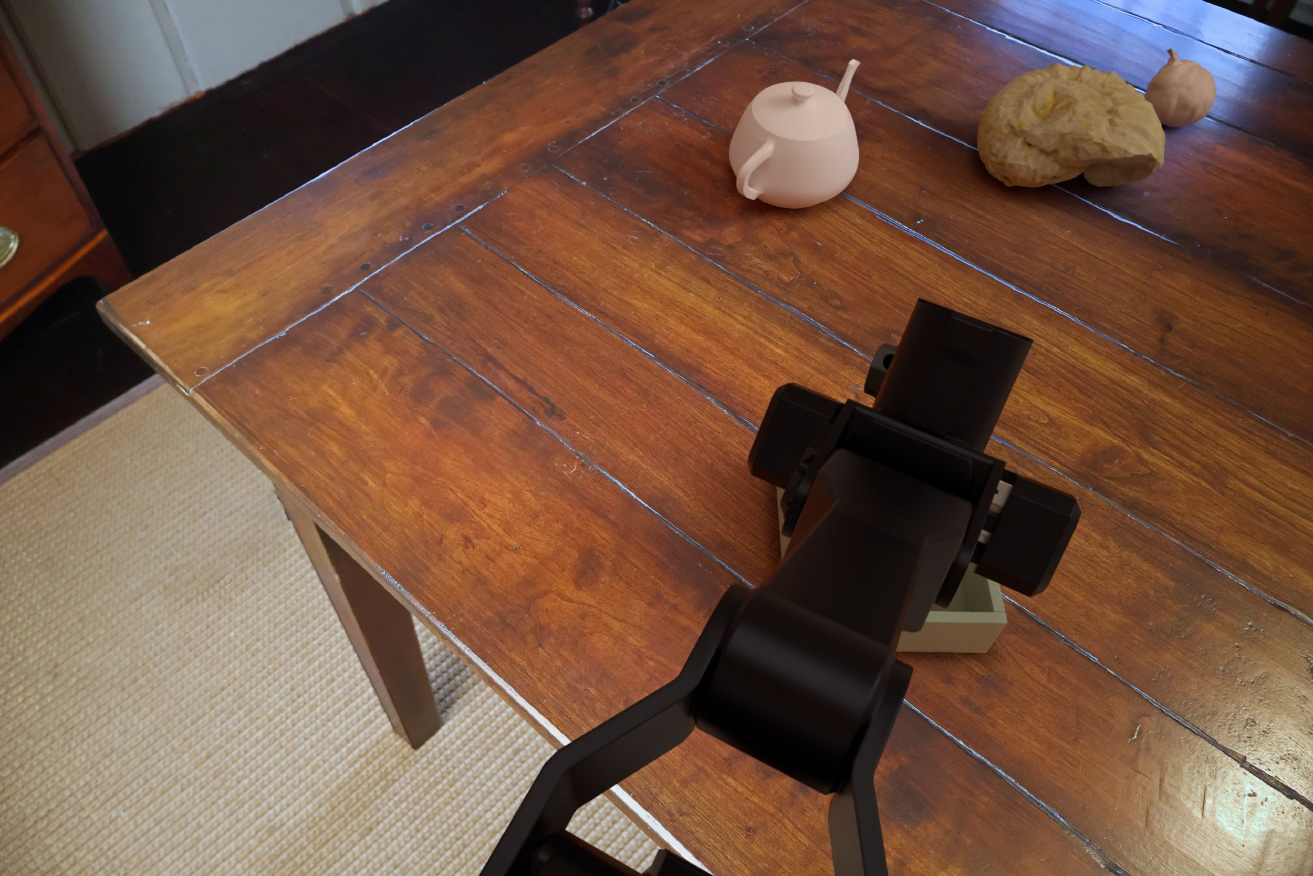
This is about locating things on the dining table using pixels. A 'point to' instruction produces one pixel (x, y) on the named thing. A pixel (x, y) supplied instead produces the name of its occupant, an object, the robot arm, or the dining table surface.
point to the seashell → (1070, 129)
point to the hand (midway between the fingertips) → (915, 469)
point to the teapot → (796, 144)
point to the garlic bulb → (1181, 92)
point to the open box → (951, 614)
